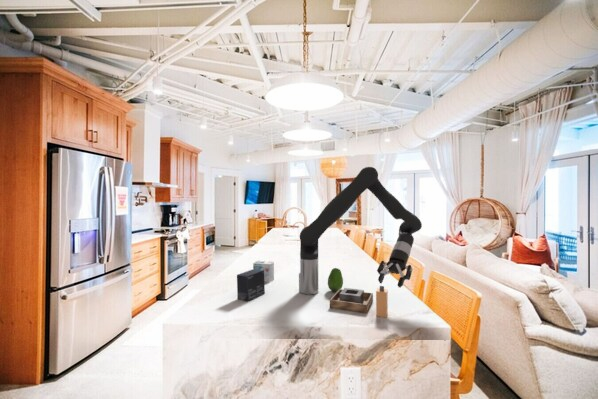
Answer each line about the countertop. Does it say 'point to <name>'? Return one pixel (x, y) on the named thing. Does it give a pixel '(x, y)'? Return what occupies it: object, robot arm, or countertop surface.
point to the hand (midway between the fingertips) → (389, 284)
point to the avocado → (335, 280)
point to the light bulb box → (265, 269)
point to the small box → (250, 285)
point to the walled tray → (351, 305)
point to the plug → (382, 302)
